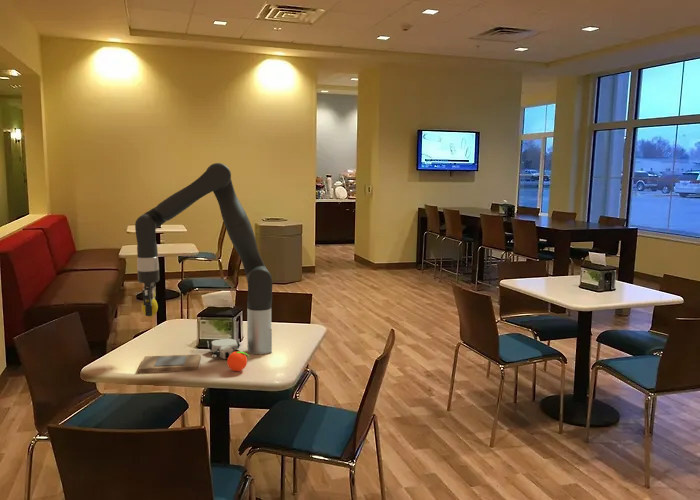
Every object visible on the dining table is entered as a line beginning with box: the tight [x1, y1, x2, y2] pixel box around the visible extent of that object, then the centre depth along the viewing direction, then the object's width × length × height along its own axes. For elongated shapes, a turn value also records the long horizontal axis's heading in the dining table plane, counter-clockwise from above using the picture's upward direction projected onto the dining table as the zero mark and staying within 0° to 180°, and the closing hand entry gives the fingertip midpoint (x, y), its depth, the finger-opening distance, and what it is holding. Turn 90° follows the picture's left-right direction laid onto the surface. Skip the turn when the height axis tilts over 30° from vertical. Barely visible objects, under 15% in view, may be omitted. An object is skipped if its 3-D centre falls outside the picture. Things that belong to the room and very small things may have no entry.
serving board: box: [138, 353, 202, 374], centre depth 214 cm, size 20×14×2 cm
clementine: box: [226, 350, 251, 372], centre depth 209 cm, size 8×7×7 cm
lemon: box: [141, 299, 159, 318], centre depth 220 cm, size 6×6×8 cm
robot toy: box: [207, 338, 241, 360], centre depth 227 cm, size 12×4×15 cm
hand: (150, 313), depth 221 cm, fingers closed on lemon, 5 cm apart
